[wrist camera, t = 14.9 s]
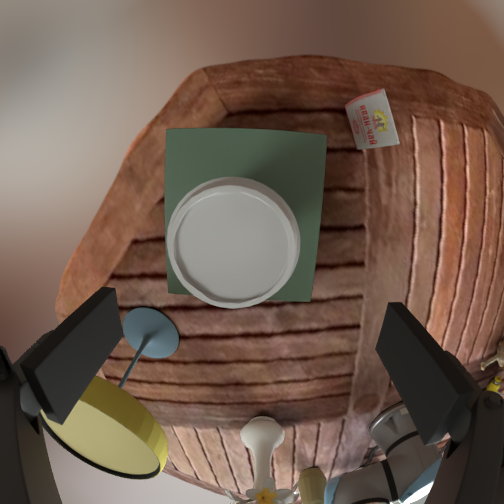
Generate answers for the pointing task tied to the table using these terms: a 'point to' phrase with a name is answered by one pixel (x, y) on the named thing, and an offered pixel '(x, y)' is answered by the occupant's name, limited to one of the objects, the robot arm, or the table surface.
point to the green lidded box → (258, 169)
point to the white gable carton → (371, 120)
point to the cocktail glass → (120, 410)
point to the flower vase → (264, 462)
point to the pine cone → (496, 357)
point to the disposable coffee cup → (233, 242)
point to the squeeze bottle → (312, 486)
